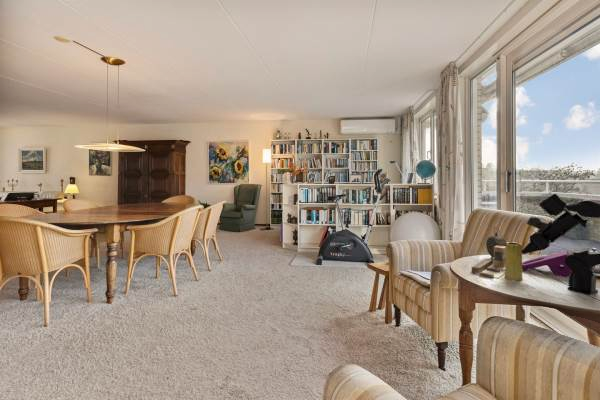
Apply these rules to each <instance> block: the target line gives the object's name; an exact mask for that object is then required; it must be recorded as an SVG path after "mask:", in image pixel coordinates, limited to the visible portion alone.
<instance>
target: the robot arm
mask: <svg viewBox="0 0 600 400" xmlns="http://www.w3.org/2000/svg"><path fill="white" fill-rule="evenodd" d="M538 207H540V208H541V209H542V210H543V212H546V213H547V214H548V215H549V216H550V217H552V216H553V217H554V216H555V217H557V216H558V217H557V218H555V219H554V220H551V221H549V222H548V221H546V220H544V219H543V218H540V217H537V216H535V215H531V216H530V217H529V219H528V221H527V222H526V225H529V226H532V227H534V228H536V229H538V230H537V231H535V232H533V233H532V234H530V235H529V243H528V244H527V245H526V246H524V248H522V251H521V252H522V255H525V254H529V253H535V252H538V251H539V252H540V251H544V250H546V249H548V248H549V247H550V246H551V244H552V243H554V242H556V241H557V240H558V239H560V238H561V237H563V236H565V235H566V234H567V233H568V232H570V231H572V230H573V229H574V228H576V227H577V226H579V225H581V226H582V227H583V228H587V227H588V221H589V219H588V218H595V219H597V218H598V219H600V202H599V201H596V200H594V199H588V198H587V199H583V200H581V201H579V202H574V203H573V202H571V203H568V202H566V201H564V200H563V199H562V198H561V197H560V196H559V195H558V194H557V193H555V192H554V193H553V194H552V195H550V196H549V197H547V198H546V199H544V200H543V201H541V202H539V204H538ZM563 212H564V213H563ZM573 212H574V213H575V214H574V213H573ZM561 213H562V214H561ZM560 214H561V215H560ZM568 253H569V254H568V256H567V257H566V258H565V264H566V265H567V266H568V267H569V268H570V269H571V270H572V272H571V273H570V275H569V276H568V286H567V290H570V291H574V292H578V293H581V294H582V293H583V294H586V295H591V294H595V293H597V292H599V289H596V288H597V286H596V285H597V274H594V272H595V269H596V266H599V265H600V251H590V248H589V247H586V248H581V249H578V248H577V249H576V248H575V249H574V250H573V251H570V252H568Z"/></svg>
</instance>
